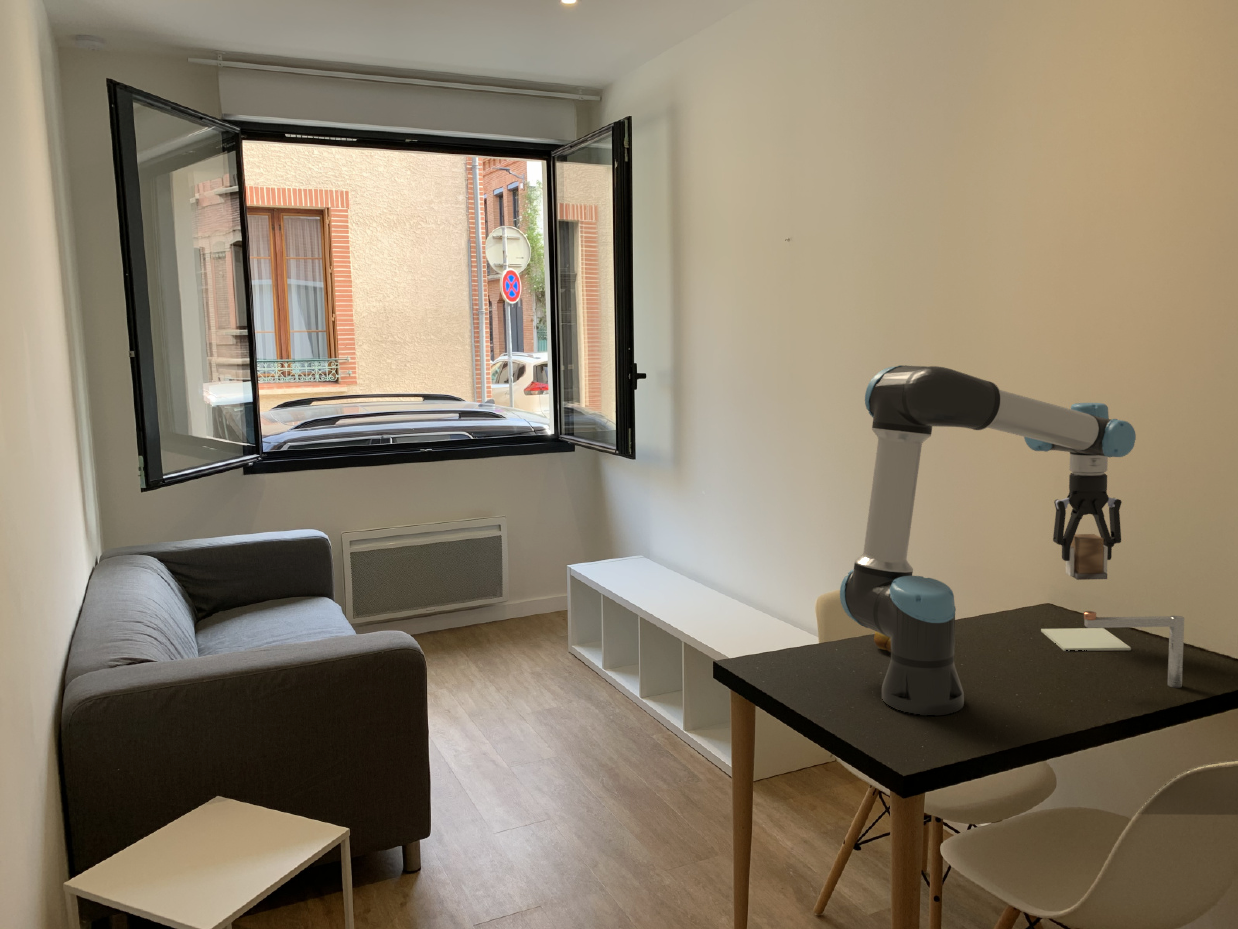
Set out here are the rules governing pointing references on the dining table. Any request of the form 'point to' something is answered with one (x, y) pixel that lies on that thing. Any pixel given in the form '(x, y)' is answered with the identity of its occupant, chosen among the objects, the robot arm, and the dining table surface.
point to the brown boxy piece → (1088, 557)
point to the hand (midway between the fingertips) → (1086, 574)
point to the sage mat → (1085, 639)
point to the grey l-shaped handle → (1155, 621)
